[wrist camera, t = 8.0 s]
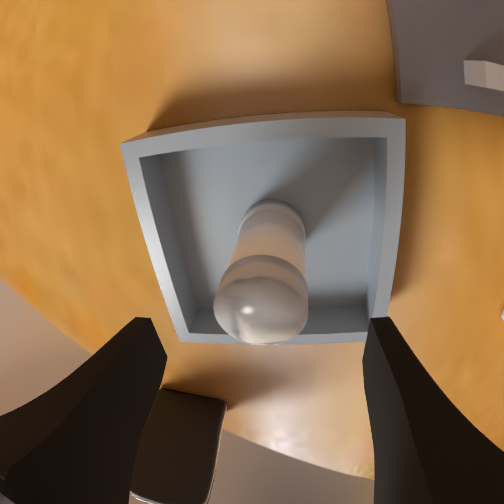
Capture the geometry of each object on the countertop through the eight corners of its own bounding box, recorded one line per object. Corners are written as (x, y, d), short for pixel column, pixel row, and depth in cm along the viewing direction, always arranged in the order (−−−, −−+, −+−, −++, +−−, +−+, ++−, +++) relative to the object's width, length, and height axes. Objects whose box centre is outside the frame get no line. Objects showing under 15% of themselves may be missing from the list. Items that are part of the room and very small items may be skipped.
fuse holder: (515, -21, 6) (542, -27, 4) (529, 120, 11) (559, 132, 8) (373, -61, 8) (386, -83, 5) (396, 101, 12) (417, 107, 10)
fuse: (306, 200, 15) (311, 276, 10) (303, 257, 17) (304, 347, 11) (239, 198, 16) (208, 272, 10) (242, 255, 17) (218, 342, 12)
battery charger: (162, 404, 29) (129, 500, 19) (156, 384, 27) (116, 490, 17) (229, 417, 28) (207, 521, 18) (229, 399, 26) (204, 515, 16)
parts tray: (387, 111, 13) (405, 119, 10) (374, 309, 19) (381, 340, 16) (145, 132, 15) (119, 143, 12) (191, 312, 21) (180, 341, 18)
